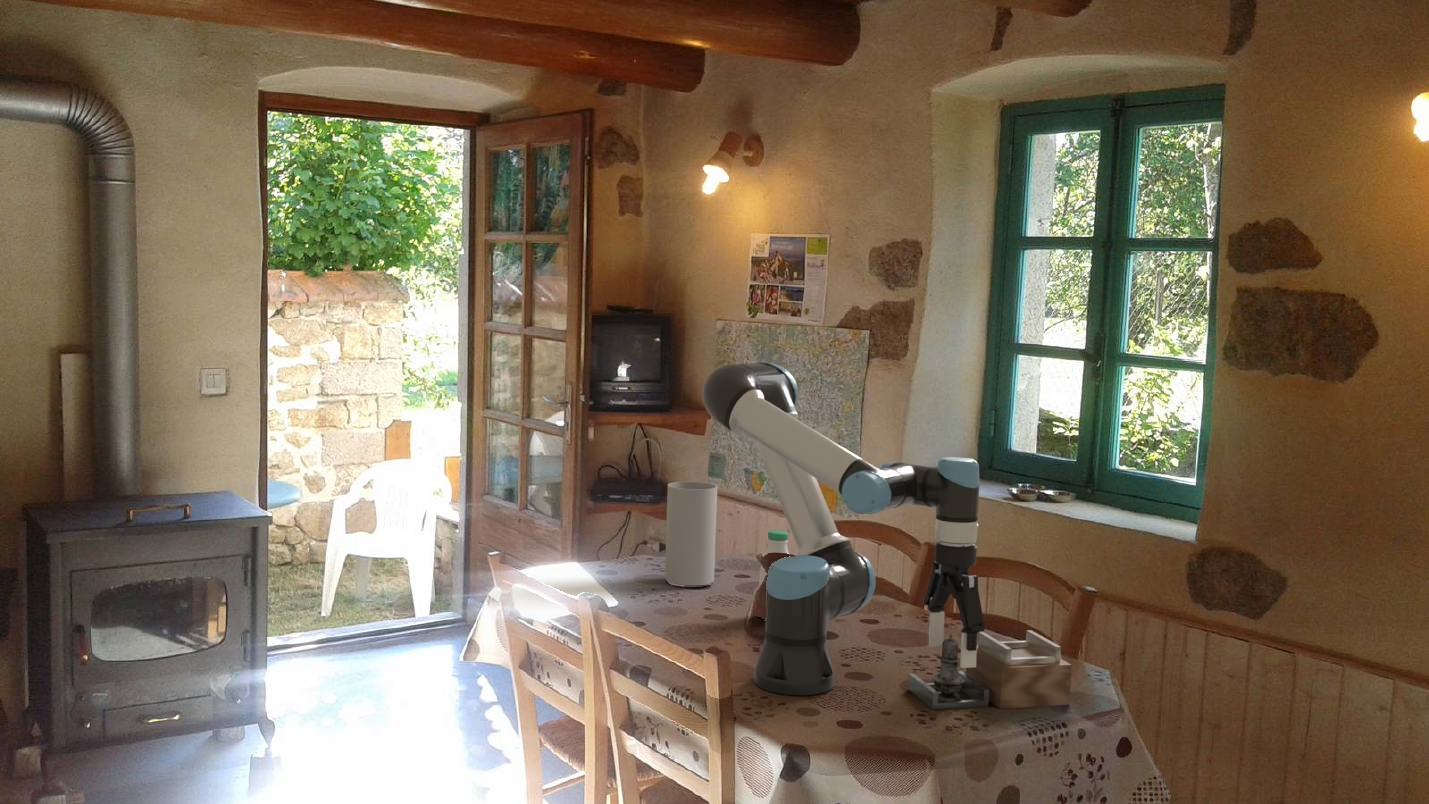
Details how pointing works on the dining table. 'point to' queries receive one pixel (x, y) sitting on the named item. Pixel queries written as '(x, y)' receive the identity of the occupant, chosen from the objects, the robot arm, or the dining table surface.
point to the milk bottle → (775, 547)
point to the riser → (1022, 671)
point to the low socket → (931, 699)
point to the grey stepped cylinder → (949, 672)
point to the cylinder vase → (690, 533)
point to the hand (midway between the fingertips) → (951, 656)
